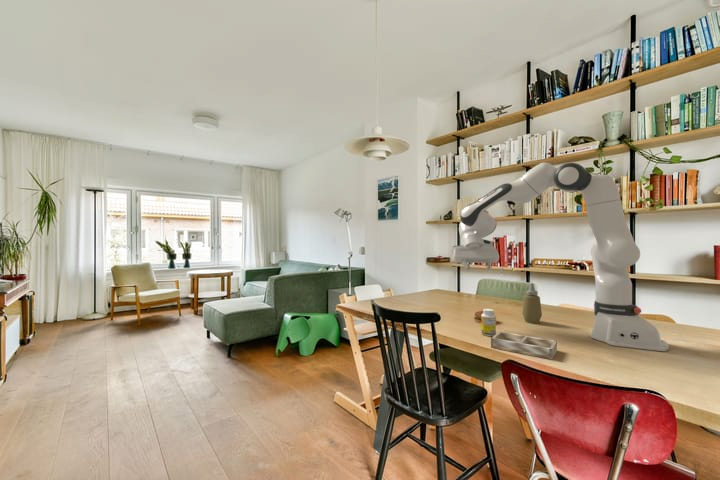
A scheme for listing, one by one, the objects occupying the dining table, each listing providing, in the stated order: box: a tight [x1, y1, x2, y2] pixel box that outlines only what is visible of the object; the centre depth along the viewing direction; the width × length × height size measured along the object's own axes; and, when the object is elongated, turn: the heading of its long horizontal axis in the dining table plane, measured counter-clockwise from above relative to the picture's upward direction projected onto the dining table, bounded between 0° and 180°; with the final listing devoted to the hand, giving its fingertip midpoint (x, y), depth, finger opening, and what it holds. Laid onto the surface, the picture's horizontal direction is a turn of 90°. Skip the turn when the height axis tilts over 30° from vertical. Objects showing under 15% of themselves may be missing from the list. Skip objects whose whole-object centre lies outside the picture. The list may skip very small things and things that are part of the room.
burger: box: [473, 310, 483, 324], centre depth 153 cm, size 10×9×5 cm
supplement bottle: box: [480, 308, 497, 337], centre depth 132 cm, size 6×6×10 cm
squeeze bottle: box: [522, 282, 543, 324], centre depth 151 cm, size 8×8×18 cm
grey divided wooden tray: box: [490, 331, 558, 360], centre depth 115 cm, size 19×10×3 cm, turn 51°
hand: (478, 268), depth 144 cm, fingers open, 8 cm apart
